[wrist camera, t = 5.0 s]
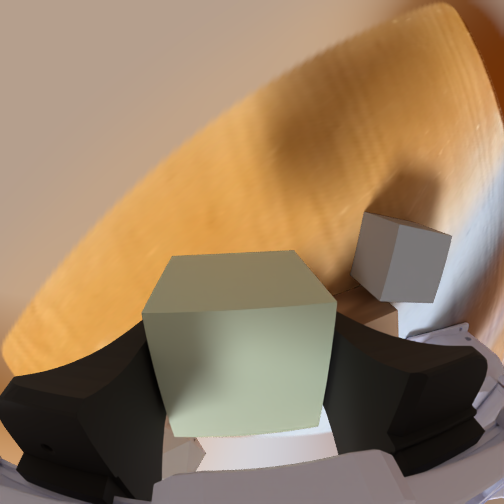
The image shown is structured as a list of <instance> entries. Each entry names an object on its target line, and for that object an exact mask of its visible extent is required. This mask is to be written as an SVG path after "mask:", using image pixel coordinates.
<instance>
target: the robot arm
mask: <svg viewBox="0 0 504 504" xmlns="http://www.w3.org/2000/svg"><path fill="white" fill-rule="evenodd" d="M468 328H469V324H468V323H467V322H465V323H462V324H458V325H455V326H451V327H448V328H444V329H440V330H437V331H433V332H429V333H425V334H421V335H417V336H413V337H409V338H407V339H402V338H399V337H395V336H392V335H389V334H386V333H383V332H380V331H377V330H375V329H372V328H370V327H368V326H365V325H363V324H361V323H359V322H357V321H355V320H353V319H351V318H349V317H347V316H345V315H343V314H341V313H339V312H337V311H336V318H335V327H334V335H333V342H332V350H331V357H330V364H329V370H328V376H327V382H326V388H325V394H324V400H323V406H324V408H325V411H326V414H327V416H328V420H329V423H330V426H331V429H332V433H333V436H334V440H335V444H336V447H337V451H338V455H337V456H333V457H329V458H324V459H319V460H314V461H309V462H302V463H297V464H290V465H283V466H275V467H266V468H257V469H244V470H222V471H199V472H189V473H177V474H174V475H172V476H170V477H168V478H166V479H164V480H162V457H163V440H164V427H165V421H166V415H167V413H166V409H165V406H164V403H163V399H162V396H161V392H160V389H159V385H158V382H157V378H156V374H155V370H154V367H153V363H152V359H151V354H150V350H149V346H148V342H147V337H146V333H145V328H144V323H143V320H142V321H140V322H139V323H138V324H137V325H135V326H134V327H133V328H131V329H130V330H129V331H127V332H126V333H125V334H123V335H122V336H120V337H119V338H117V339H116V340H115V341H113V342H112V343H110V344H109V345H107V346H105V347H104V348H102V349H100V350H98V351H96V352H94V353H93V354H91V355H89V356H86V357H84V358H82V359H79V360H77V361H75V362H72V363H70V364H67V365H64V366H61V367H58V368H55V369H51V370H48V371H44V372H39V373H34V374H28V375H23V376H16V377H14V378H13V379H12V380H11V381H10V383H9V384H8V386H7V387H6V388H5V390H4V391H3V392H2V394H1V395H0V420H1V422H2V423H3V425H4V427H5V428H6V430H7V431H8V432H9V434H10V435H11V436H12V438H13V439H14V440H15V442H16V443H17V444H18V446H19V447H20V448H21V449H22V451H23V452H24V453H23V455H22V458H21V460H20V462H19V464H18V466H16V465H14V464H12V463H10V462H8V461H6V460H3V459H2V458H1V456H0V504H484V503H485V502H487V501H488V500H491V499H496V498H504V368H503V365H502V362H501V361H500V359H499V357H498V356H497V355H496V354H495V353H494V352H492V351H491V350H490V349H489V348H487V347H486V346H485V345H484V344H483V343H481V342H480V341H479V340H478V339H476V338H475V337H474V336H473V335H471V334H470V333H469V332H468Z"/></svg>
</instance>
